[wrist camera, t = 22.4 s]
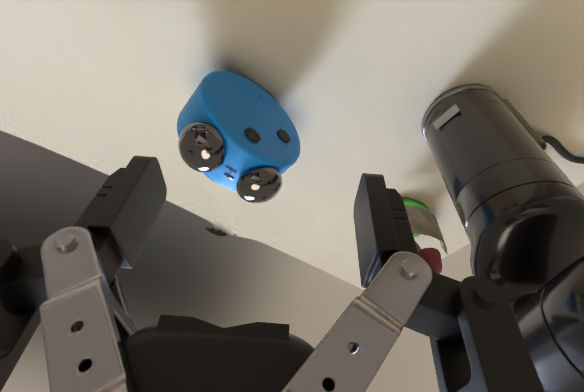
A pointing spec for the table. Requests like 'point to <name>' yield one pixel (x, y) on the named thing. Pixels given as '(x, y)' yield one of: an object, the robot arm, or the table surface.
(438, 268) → the multicoloured stacked figure
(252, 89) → the alarm clock
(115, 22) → the table surface
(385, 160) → the table surface
